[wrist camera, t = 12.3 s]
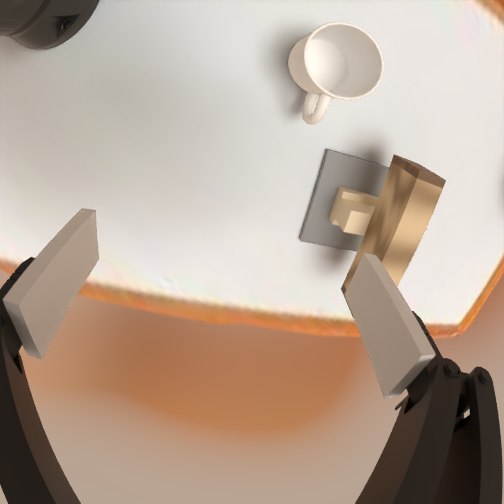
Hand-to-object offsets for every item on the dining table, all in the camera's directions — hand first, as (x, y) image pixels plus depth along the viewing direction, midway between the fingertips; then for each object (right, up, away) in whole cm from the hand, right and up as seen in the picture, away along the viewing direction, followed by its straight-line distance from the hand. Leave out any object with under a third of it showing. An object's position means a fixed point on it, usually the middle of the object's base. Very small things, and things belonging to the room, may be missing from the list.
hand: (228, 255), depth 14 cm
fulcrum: (+17, +7, +28) cm, 34 cm away
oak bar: (+18, +3, +22) cm, 28 cm away
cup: (+9, +22, +18) cm, 30 cm away
